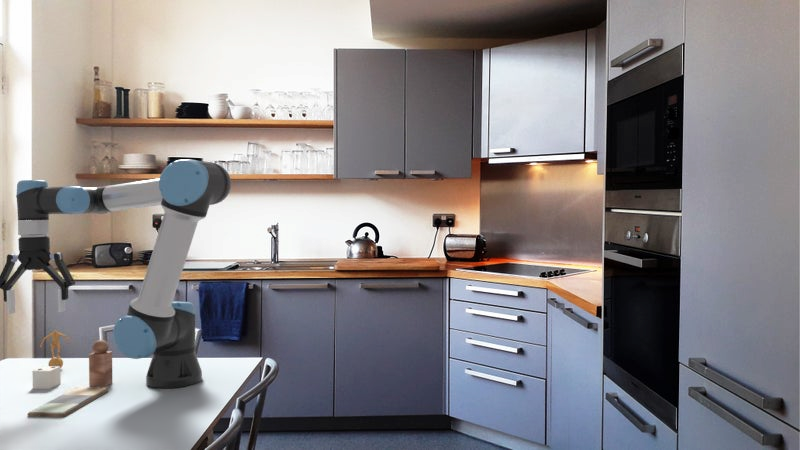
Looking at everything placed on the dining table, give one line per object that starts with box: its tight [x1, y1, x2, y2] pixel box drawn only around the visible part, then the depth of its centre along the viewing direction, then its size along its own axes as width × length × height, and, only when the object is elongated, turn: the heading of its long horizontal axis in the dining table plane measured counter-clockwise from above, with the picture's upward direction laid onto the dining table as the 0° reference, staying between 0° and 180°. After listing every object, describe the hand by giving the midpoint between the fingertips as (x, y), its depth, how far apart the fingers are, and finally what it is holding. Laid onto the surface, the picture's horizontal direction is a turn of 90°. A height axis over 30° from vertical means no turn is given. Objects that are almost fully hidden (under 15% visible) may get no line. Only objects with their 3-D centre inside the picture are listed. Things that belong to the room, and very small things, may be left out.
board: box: [27, 386, 109, 418], centre depth 165 cm, size 9×21×1 cm, turn 177°
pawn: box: [88, 339, 113, 388], centre depth 183 cm, size 4×4×13 cm
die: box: [31, 365, 62, 390], centre depth 182 cm, size 5×5×5 cm
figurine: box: [39, 329, 71, 369], centre depth 200 cm, size 8×6×12 cm
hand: (36, 312), depth 180 cm, fingers open, 13 cm apart
